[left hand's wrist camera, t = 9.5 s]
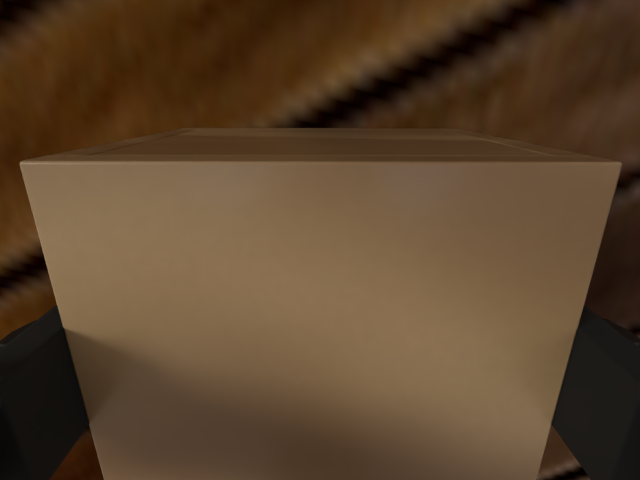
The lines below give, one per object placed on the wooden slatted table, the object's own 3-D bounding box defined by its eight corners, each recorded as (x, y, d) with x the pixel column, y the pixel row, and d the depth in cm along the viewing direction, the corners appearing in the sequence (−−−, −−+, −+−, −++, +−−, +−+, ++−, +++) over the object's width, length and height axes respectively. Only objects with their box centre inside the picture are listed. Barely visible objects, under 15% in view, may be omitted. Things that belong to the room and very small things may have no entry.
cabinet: (420, 433, 21) (488, 659, 13) (219, 433, 21) (150, 658, 13) (458, 128, 15) (624, 161, 7) (183, 127, 15) (17, 160, 7)
